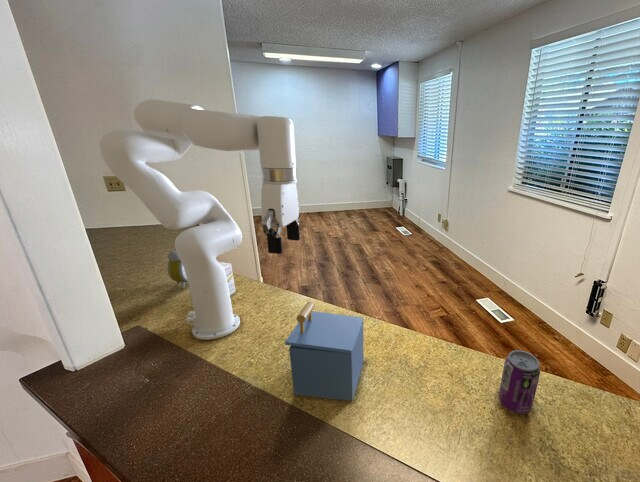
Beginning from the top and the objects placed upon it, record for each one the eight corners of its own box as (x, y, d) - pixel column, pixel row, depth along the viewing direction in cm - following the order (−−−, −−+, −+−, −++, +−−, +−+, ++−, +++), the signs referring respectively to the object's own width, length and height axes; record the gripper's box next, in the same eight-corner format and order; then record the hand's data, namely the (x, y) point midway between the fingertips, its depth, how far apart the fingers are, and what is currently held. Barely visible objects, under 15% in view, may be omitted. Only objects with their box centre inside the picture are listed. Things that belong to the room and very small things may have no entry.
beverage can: (528, 422, 64) (539, 376, 60) (494, 406, 67) (502, 362, 63) (533, 399, 69) (544, 356, 65) (502, 386, 73) (509, 344, 69)
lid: (285, 344, 64) (283, 322, 63) (306, 313, 76) (306, 293, 74) (351, 353, 63) (352, 331, 61) (363, 320, 75) (364, 300, 73)
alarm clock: (185, 290, 113) (176, 253, 108) (167, 290, 113) (157, 252, 108) (204, 277, 124) (197, 242, 119) (187, 276, 124) (179, 242, 119)
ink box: (219, 303, 105) (214, 272, 101) (198, 300, 107) (192, 269, 103) (236, 291, 113) (231, 262, 109) (216, 289, 115) (211, 260, 111)
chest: (293, 394, 69) (288, 348, 65) (313, 357, 81) (310, 315, 76) (352, 401, 68) (351, 354, 63) (363, 362, 79) (363, 320, 75)
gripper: (281, 170, 77) (286, 234, 83) (241, 179, 61) (251, 257, 67) (309, 172, 77) (312, 236, 82) (277, 181, 60) (283, 260, 66)
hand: (285, 246), depth 75 cm, fingers open, 9 cm apart
